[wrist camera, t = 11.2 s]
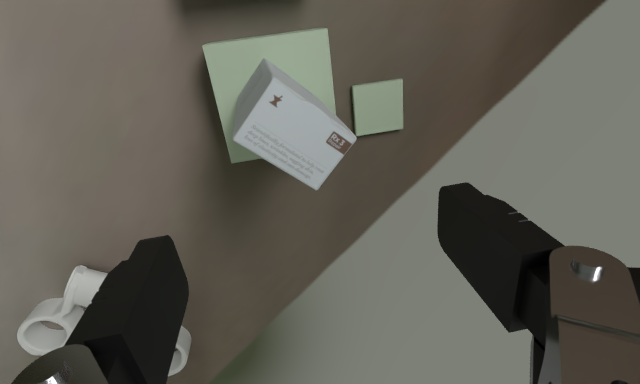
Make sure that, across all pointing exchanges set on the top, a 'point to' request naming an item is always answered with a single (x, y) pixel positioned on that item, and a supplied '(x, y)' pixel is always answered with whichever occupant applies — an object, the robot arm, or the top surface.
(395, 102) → the sage tile
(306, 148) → the skincare box
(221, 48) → the sage riser block
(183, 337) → the white brass knuckles
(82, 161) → the top surface
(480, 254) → the robot arm
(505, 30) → the top surface
